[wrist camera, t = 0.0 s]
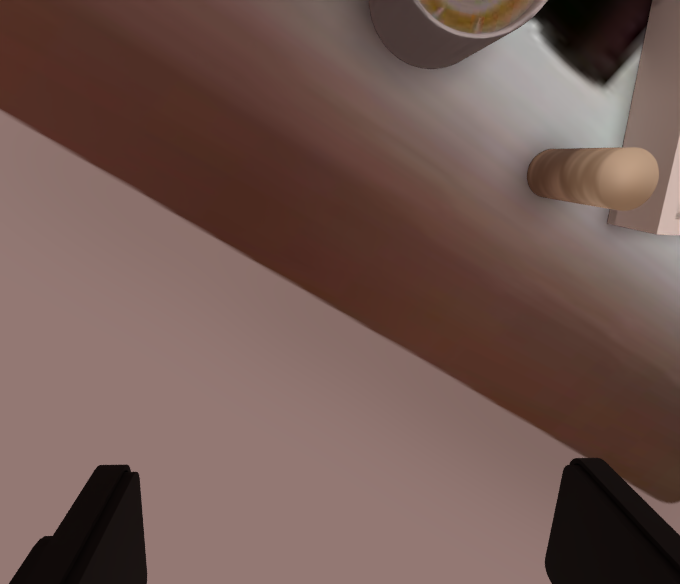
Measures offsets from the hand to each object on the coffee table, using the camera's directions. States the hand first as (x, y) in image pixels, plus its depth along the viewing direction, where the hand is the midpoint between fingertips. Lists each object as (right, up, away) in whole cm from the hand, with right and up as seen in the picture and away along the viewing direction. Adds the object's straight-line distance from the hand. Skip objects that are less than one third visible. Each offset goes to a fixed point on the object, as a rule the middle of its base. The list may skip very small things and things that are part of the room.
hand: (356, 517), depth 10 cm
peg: (+17, +15, +30) cm, 38 cm away
